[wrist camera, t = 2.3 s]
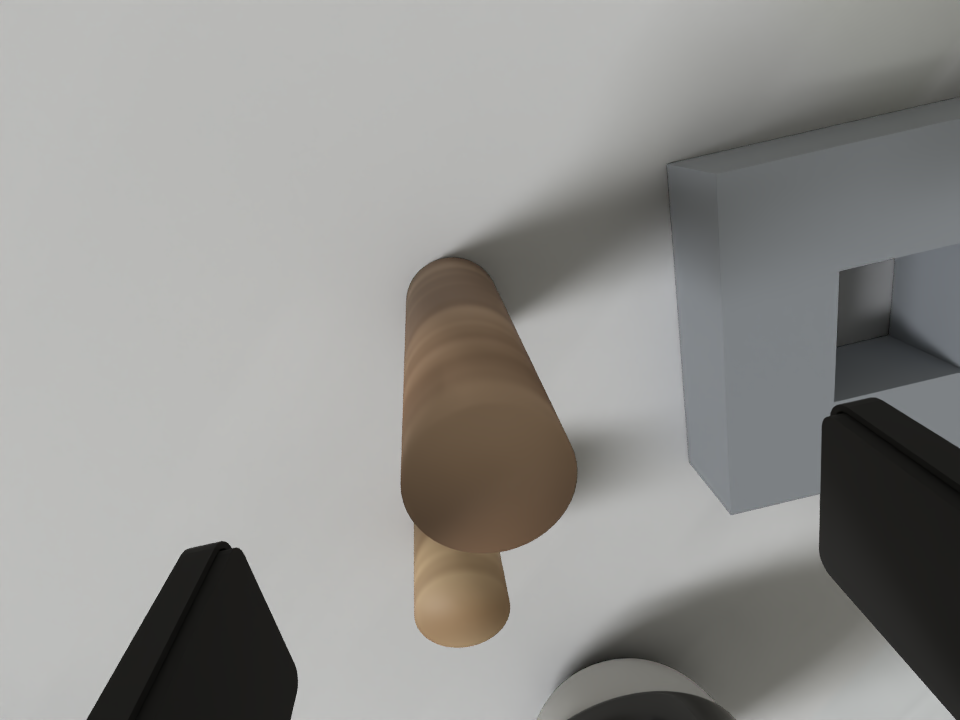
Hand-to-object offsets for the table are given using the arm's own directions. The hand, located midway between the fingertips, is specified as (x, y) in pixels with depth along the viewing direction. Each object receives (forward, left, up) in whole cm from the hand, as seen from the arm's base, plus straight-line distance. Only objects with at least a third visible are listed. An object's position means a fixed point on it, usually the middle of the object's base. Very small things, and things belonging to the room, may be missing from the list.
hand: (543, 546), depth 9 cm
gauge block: (+3, +13, -13) cm, 18 cm away
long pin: (0, -1, -13) cm, 13 cm away
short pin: (+9, -3, -13) cm, 15 cm away
